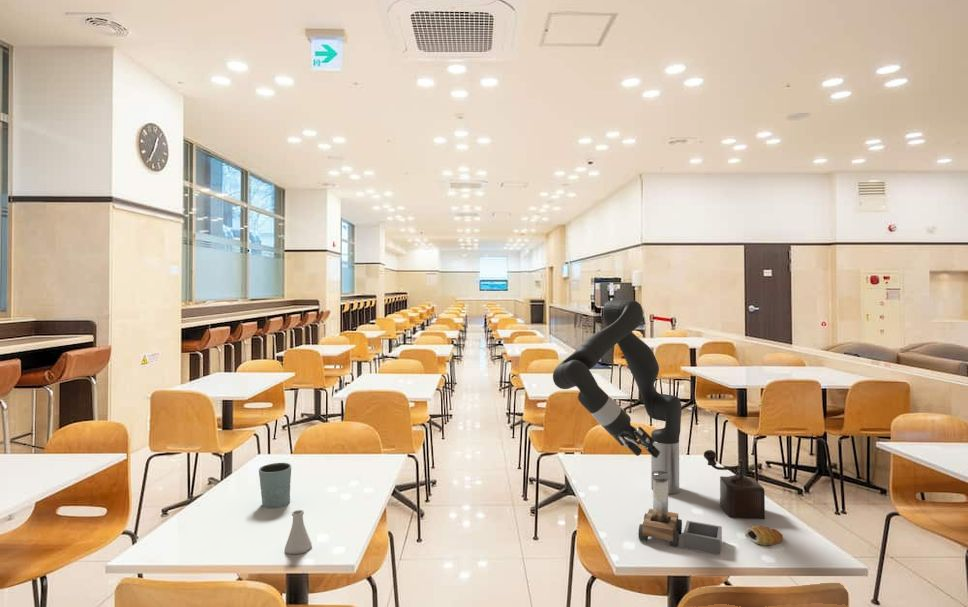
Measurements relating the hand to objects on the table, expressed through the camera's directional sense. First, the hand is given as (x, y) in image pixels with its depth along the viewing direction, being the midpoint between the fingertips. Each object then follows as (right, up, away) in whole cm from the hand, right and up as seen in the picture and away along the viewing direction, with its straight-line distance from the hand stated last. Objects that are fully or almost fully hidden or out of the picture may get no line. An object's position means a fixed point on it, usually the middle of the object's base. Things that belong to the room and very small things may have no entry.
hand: (648, 454), depth 151 cm
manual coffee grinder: (+31, -22, +15) cm, 41 cm away
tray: (+13, -23, -7) cm, 27 cm away
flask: (-97, -24, -8) cm, 100 cm away
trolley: (+3, -23, -1) cm, 23 cm away
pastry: (+30, -23, -5) cm, 38 cm away
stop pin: (+3, -20, -2) cm, 20 cm away
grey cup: (-116, -23, +24) cm, 121 cm away
